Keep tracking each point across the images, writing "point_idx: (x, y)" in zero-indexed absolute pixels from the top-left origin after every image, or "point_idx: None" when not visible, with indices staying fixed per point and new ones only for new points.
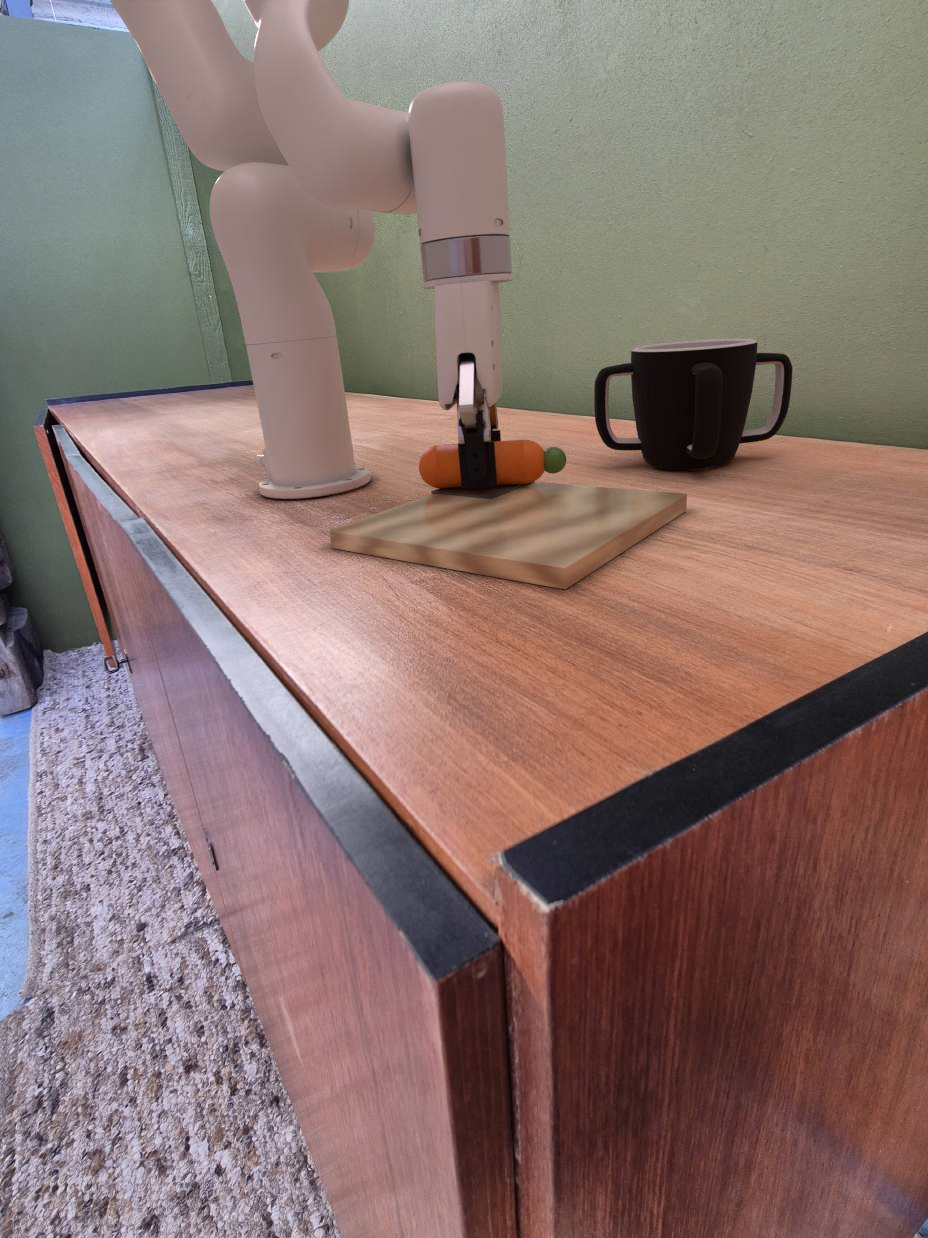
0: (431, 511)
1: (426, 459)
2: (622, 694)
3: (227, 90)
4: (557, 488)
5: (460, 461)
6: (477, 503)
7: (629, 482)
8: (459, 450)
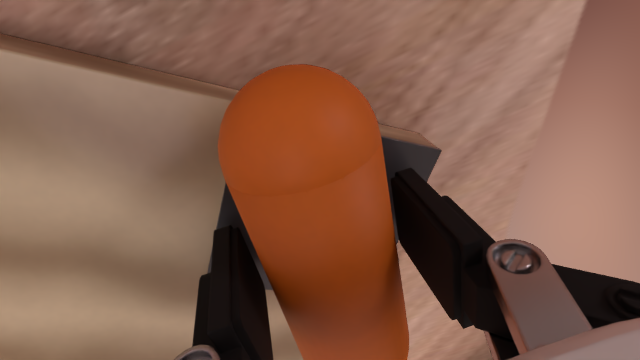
0: (31, 207)
1: (231, 149)
2: None
3: None
4: None
5: (211, 284)
6: (156, 273)
7: (445, 347)
8: (208, 315)
